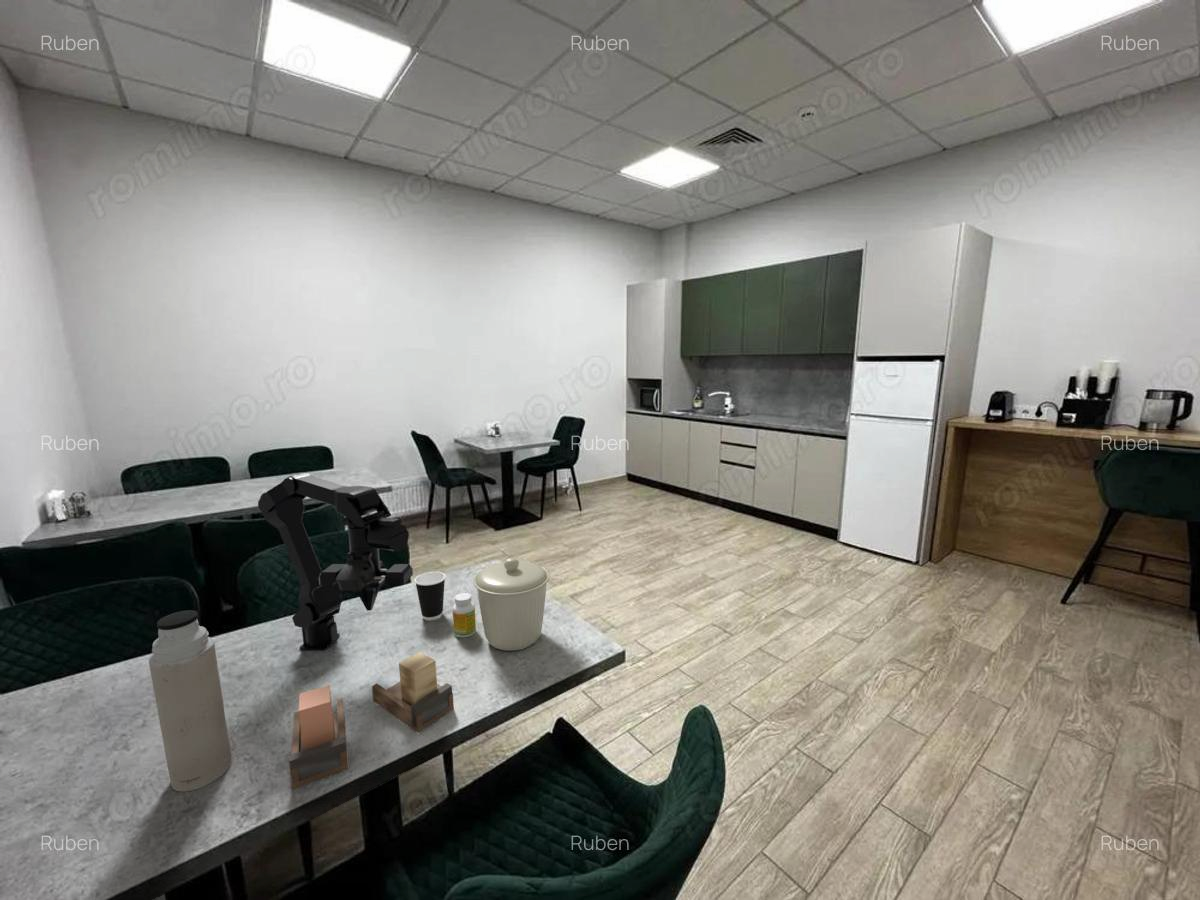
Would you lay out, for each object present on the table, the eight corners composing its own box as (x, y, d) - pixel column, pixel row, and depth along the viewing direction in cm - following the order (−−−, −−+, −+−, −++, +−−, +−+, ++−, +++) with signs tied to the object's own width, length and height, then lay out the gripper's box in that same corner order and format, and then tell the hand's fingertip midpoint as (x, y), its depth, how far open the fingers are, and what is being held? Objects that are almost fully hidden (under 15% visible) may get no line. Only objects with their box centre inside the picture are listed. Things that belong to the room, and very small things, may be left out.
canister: (564, 644, 118) (562, 562, 115) (493, 670, 108) (489, 581, 105) (530, 613, 133) (528, 539, 129) (465, 633, 123) (461, 554, 119)
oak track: (373, 701, 98) (371, 679, 98) (408, 680, 105) (407, 659, 104) (418, 733, 90) (416, 709, 89) (453, 708, 96) (452, 686, 95)
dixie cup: (453, 616, 132) (451, 577, 130) (424, 627, 126) (422, 587, 124) (439, 605, 137) (437, 568, 135) (411, 615, 132) (409, 577, 130)
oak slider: (402, 705, 95) (398, 663, 94) (422, 693, 99) (419, 651, 97) (417, 716, 92) (414, 672, 91) (438, 702, 96) (435, 660, 95)
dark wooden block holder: (296, 729, 91) (293, 705, 90) (344, 714, 95) (341, 691, 94) (292, 789, 78) (289, 762, 77) (348, 769, 82) (345, 743, 81)
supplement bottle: (469, 639, 121) (468, 602, 119) (449, 636, 122) (447, 600, 120) (479, 627, 126) (477, 592, 124) (460, 625, 127) (458, 590, 125)
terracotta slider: (305, 739, 87) (299, 693, 85) (334, 730, 89) (329, 684, 87) (304, 759, 82) (298, 710, 81) (335, 748, 85) (330, 701, 83)
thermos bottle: (157, 793, 77) (127, 631, 72) (194, 754, 85) (169, 605, 80) (211, 790, 78) (184, 629, 73) (242, 751, 86) (220, 603, 81)
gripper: (299, 558, 100) (307, 628, 103) (390, 559, 100) (396, 628, 103) (329, 539, 111) (336, 603, 114) (411, 539, 111) (416, 603, 114)
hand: (369, 609), depth 111 cm, fingers closed
